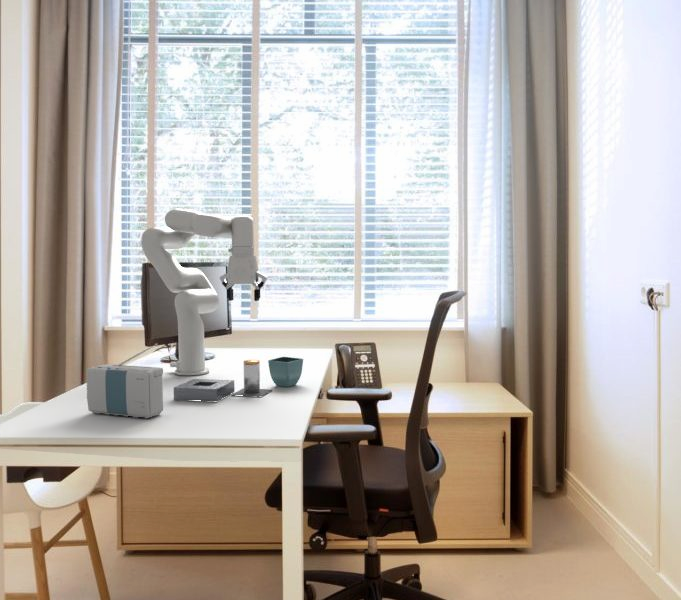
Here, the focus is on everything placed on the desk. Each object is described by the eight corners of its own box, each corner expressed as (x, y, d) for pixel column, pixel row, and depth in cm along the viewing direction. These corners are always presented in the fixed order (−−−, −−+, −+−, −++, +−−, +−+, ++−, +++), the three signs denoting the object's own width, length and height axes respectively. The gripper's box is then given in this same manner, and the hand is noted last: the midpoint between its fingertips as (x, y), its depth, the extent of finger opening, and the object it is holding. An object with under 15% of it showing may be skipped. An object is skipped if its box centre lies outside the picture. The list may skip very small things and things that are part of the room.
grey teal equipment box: (86, 414, 173) (83, 343, 172) (107, 408, 181) (105, 339, 180) (148, 421, 166) (146, 346, 165) (167, 414, 174) (165, 342, 172)
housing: (173, 400, 190) (173, 387, 190) (194, 390, 204) (193, 378, 203) (216, 402, 187) (216, 389, 187) (234, 392, 201) (234, 380, 200)
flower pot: (288, 389, 206) (288, 362, 205) (267, 386, 210) (267, 360, 210) (304, 384, 213) (303, 358, 212) (283, 382, 218) (283, 356, 217)
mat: (231, 396, 196) (231, 394, 196) (243, 389, 205) (243, 388, 205) (261, 397, 194) (261, 396, 194) (272, 390, 203) (272, 389, 203)
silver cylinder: (241, 393, 198) (241, 362, 197) (247, 389, 202) (246, 359, 202) (256, 394, 197) (256, 362, 196) (261, 390, 201) (261, 359, 201)
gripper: (215, 251, 216) (216, 301, 217) (262, 251, 213) (263, 301, 214) (223, 252, 224) (224, 299, 225) (269, 251, 220) (270, 300, 221)
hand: (243, 300), depth 219 cm, fingers open, 9 cm apart
